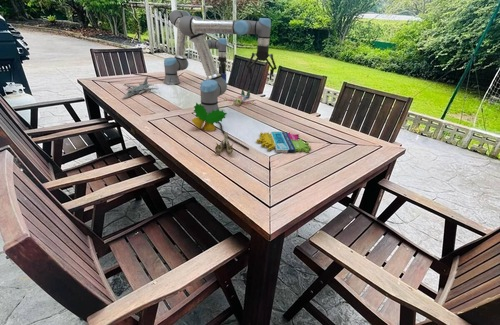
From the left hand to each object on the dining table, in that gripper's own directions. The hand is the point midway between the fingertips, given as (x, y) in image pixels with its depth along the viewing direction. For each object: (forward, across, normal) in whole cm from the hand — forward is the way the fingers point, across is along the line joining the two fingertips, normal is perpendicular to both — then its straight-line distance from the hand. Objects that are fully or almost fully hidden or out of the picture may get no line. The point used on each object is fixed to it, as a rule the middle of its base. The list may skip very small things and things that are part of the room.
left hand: (222, 82), depth 251 cm
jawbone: (+7, -127, -43) cm, 134 cm away
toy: (+7, -34, -28) cm, 44 cm away
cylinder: (+2, 0, 0) cm, 2 cm away
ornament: (+7, -100, -24) cm, 103 cm away
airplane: (+6, -46, +60) cm, 76 cm away
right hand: (-19, -64, -48) cm, 83 cm away
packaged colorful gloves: (+7, -105, -71) cm, 127 cm away
